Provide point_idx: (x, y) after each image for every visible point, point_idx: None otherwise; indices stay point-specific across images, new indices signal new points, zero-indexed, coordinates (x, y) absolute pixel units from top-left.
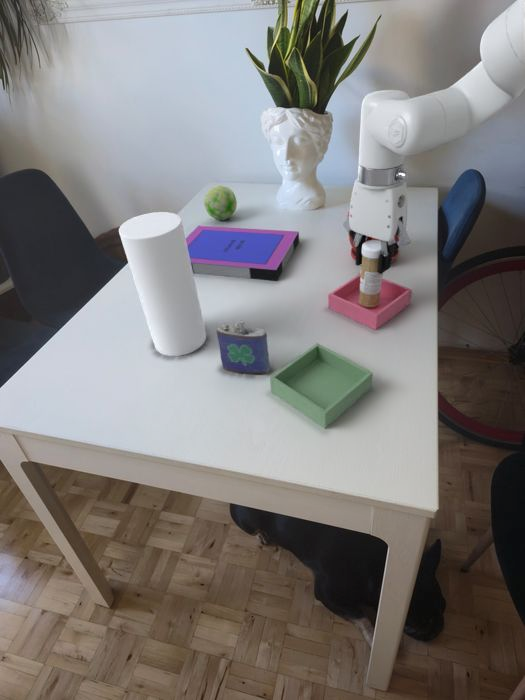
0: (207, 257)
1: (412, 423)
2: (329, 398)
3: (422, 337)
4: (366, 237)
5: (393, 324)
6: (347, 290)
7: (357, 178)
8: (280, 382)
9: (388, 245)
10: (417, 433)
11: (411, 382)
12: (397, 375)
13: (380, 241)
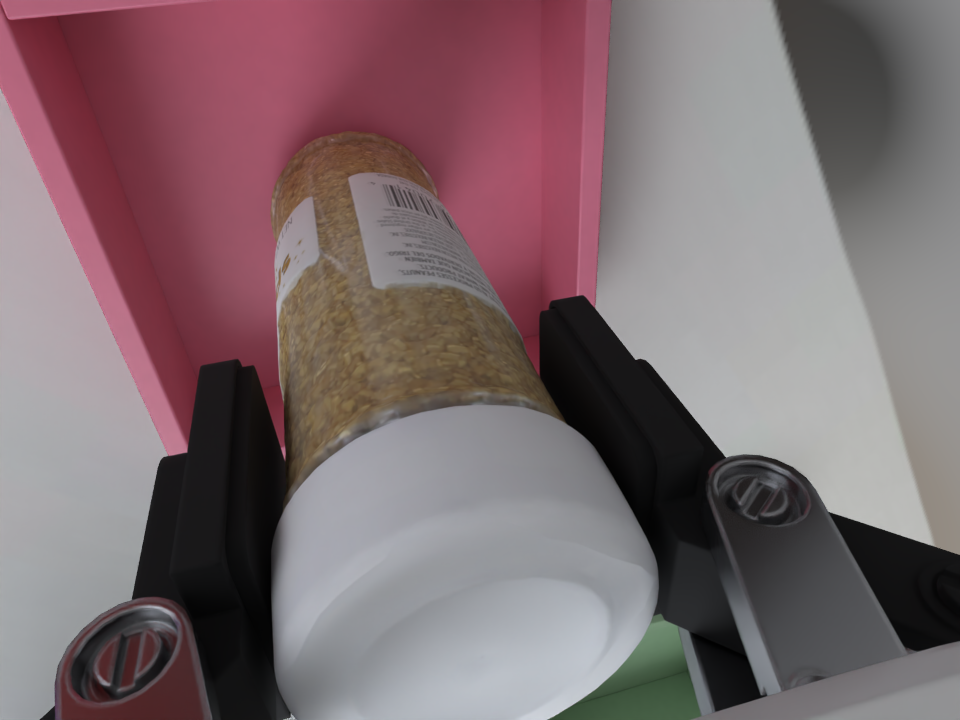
0: None
1: (868, 518)
2: (650, 640)
3: (777, 199)
4: (218, 710)
5: (599, 228)
6: (138, 270)
7: None
8: None
9: (718, 571)
10: (887, 526)
11: (822, 431)
12: (769, 445)
13: (490, 549)
